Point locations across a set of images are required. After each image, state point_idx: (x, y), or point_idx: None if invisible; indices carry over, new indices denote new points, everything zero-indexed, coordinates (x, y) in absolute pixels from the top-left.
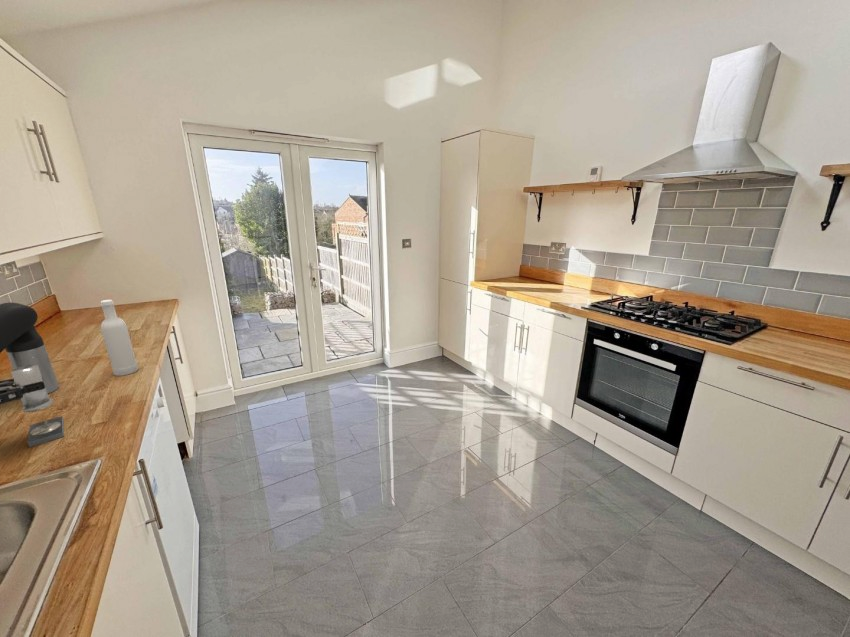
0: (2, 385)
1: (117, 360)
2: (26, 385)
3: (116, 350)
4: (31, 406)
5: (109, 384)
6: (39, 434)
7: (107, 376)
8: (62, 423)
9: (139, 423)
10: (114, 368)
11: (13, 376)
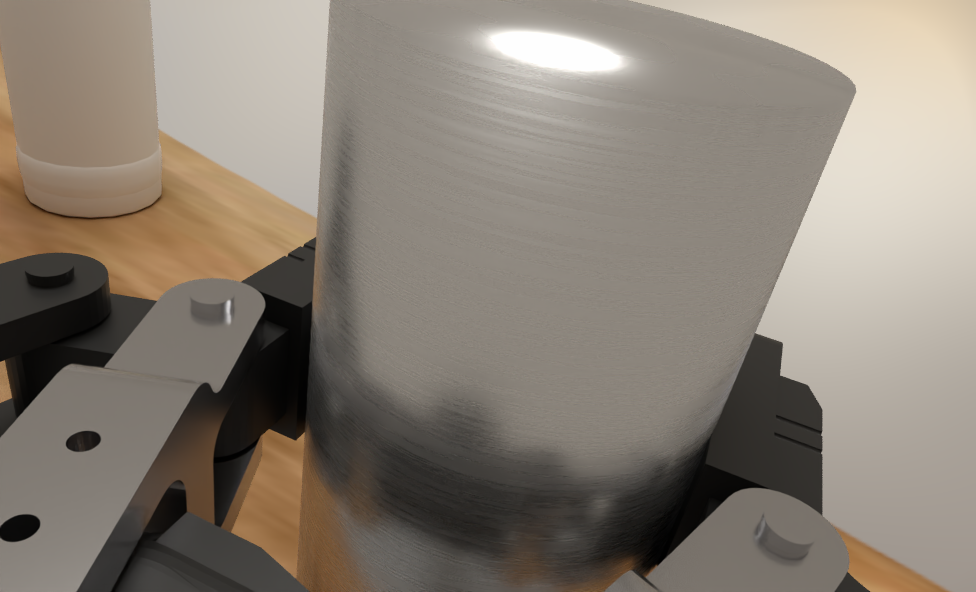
0: (125, 561)
1: (100, 110)
2: (759, 460)
3: (103, 35)
4: None
5: (122, 278)
6: None
7: (2, 220)
8: None
9: (935, 584)
10: (65, 166)
11: (594, 238)
